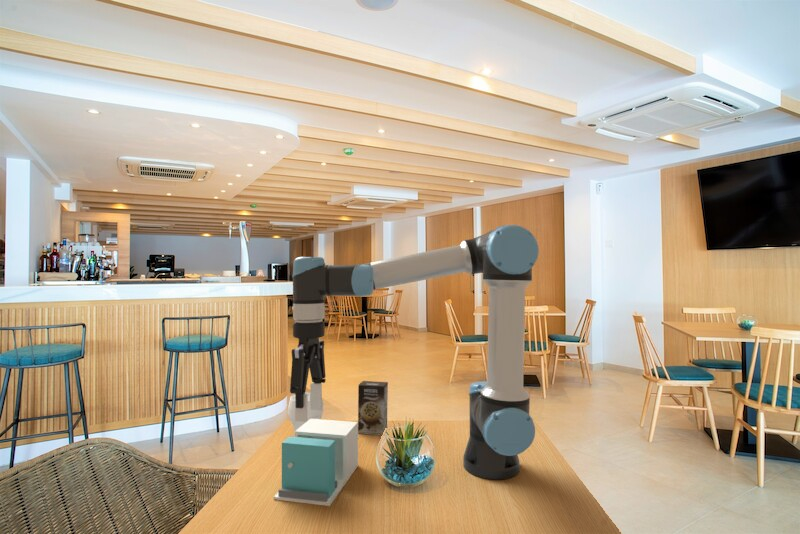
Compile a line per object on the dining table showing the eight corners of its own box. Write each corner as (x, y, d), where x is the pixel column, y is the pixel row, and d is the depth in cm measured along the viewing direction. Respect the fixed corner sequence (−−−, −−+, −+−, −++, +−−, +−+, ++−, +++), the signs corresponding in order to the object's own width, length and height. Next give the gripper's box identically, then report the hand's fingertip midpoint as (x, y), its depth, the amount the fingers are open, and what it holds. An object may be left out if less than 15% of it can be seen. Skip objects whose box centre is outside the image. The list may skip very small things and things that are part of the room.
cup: (315, 454, 126) (315, 402, 127) (281, 451, 129) (281, 400, 129) (328, 440, 137) (328, 392, 137) (297, 437, 139) (297, 391, 139)
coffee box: (357, 433, 142) (357, 384, 143) (362, 426, 149) (362, 380, 149) (384, 435, 141) (384, 386, 141) (388, 428, 147) (388, 381, 147)
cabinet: (357, 465, 119) (357, 422, 119) (329, 506, 98) (329, 453, 98) (310, 461, 122) (310, 418, 122) (273, 499, 101) (273, 448, 101)
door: (335, 490, 104) (335, 440, 104) (327, 500, 100) (327, 448, 100) (289, 484, 107) (289, 436, 107) (280, 494, 102) (280, 443, 102)
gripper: (311, 316, 115) (312, 401, 115) (273, 325, 95) (273, 429, 95) (338, 316, 113) (338, 403, 113) (305, 326, 93) (305, 431, 93)
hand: (309, 415), depth 104 cm, fingers open, 8 cm apart
